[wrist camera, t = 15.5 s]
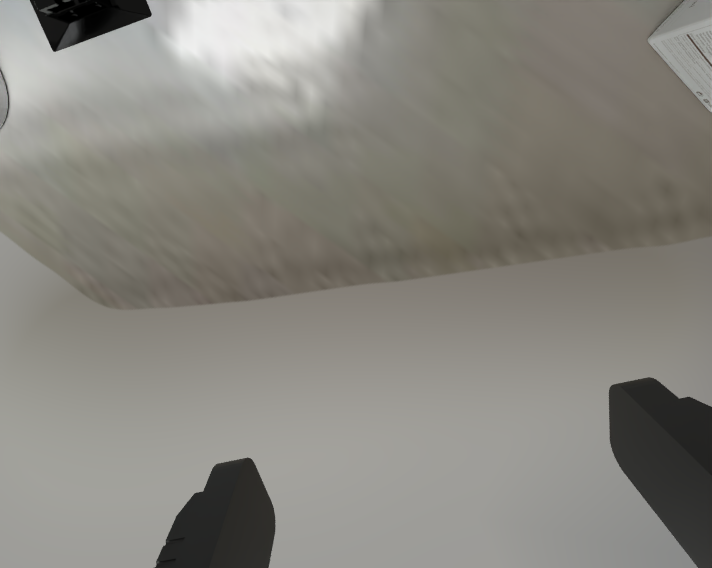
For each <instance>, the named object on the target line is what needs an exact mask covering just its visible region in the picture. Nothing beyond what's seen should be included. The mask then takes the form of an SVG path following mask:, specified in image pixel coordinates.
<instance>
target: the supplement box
mask: <svg viewBox="0 0 712 568" xmlns="http://www.w3.org/2000/svg"><path fill="white" fill-rule="evenodd" d="M648 43H649V44H650V45H651V46H652V47H653V48H654V50H655V51H656V52H657V53H658V54H659V55H660V56H661V57H662V59H663V60H664V61H665V62H666V63H667V64H668V65H669V66H670V68H671V69H672V70H673V71H674V72H675V73H676V74H677V75H678V77H679V78H680V79H681V80H682V81H683V82H684V83H685V84H686V86H687V87H688V88H689V89H690V90H691V91H692V92H693V93H694V94H695V96H696V97H697V98H698V99H699V100H700V101H701V102H702V103H703V105H704V106H705V107H706V108H707V109H708V110H709V111H710V112H711V113H712V0H684V1H683V2H682V3H681V4H680V5H679V6H678V7H677V8H676V9H675V10H674V12H673V13H672V14H671V15H670V16H669V17H668V18H667V19H666V20H665V21H664V22H663V23H662V24H661V25H660V26H659V27H658V28H657V29H656V30H655V31H654V33H653V34H652V35H651V36H650V37H649V38H648Z"/></svg>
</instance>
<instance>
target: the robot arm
mask: <svg viewBox="0 0 712 568" xmlns="http://www.w3.org/2000/svg"><path fill="white" fill-rule="evenodd" d="M7 110H8V95H7V90H6V86H5V82H4V80H3V77H2V75H1V72H0V128H1V127H2V125H3V123H4V121H5V119H6V115H7ZM609 417H610V418H609V419H610V443H611V447H612V451H613V453H614V456H615V458H616V460H617V462H618V464H619V466H620V467H621V469H622V470H623V472H624V473H625V474H626V476H627V477H628V478H629V479H630V481H631V482H632V483H633V485H634V486H635V487H636V489H637V490H638V491H639V492H640V494H641V495H642V496H643V498H644V499H645V500H646V501H647V503H648V504H649V505H650V507H651V508H652V509H653V510H654V512H655V513H656V514H657V515H658V517H659V518H660V519H661V520H662V522H663V523H664V524H665V526H666V527H667V528H668V530H669V531H670V532H671V533H672V535H673V536H674V537H675V538H676V540H677V541H678V542H679V544H680V545H681V546H682V547H683V549H684V550H685V551H686V553H687V554H688V555H689V556H690V558H691V559H692V560H693V562H694V563H695V564H696V565H697V567H698V568H712V407H711V406H708V405H706V404H704V403H702V402H699V401H697V400H695V399H693V398H691V397H686V398H681V399H679V398H678V397H677V396H675V395H674V394H673V393H672V392H671V391H669V390H668V389H667V388H666V387H665V386H663V385H662V384H661V383H660V382H659V381H657V380H656V379H654V378H643V379H638V380H634V381H629V382H624V383H619V384H614V385H612V386H611V387H610V390H609ZM274 535H275V514H274V508H273V505H272V502H271V500H270V497H269V495H268V493H267V491H266V488H265V486H264V484H263V482H262V479H261V477H260V475H259V473H258V470H257V468H256V466H255V464H254V462H253V460H252V459H250V458H244V459H239V460H234V461H229V462H224V463H219V464H216V465H215V466H214V467H213V469H212V471H211V474H210V476H209V479H208V481H207V484H206V486H205V488H204V491H203V492H199V493H195V494H194V495H193V496H192V497H191V499H190V500H189V501H188V502H187V504H186V505H185V506H184V508H183V509H182V510H181V511H180V512H179V514H178V515H177V516H176V519H175V521H174V523H173V525H172V528H171V530H170V532H169V534H168V537H167V539H166V545H165V546H163V548H162V550H161V552H160V555H159V557H158V559H157V561H156V563H157V565H156V567H155V568H268V567H269V562H270V557H271V551H272V546H273V540H274Z"/></svg>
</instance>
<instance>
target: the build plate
mask: <svg viewBox="0 0 712 568" xmlns="http://www.w3.org/2000/svg"><path fill="white" fill-rule="evenodd" d="M30 2H31V4H32V6H33V8H34V10H35V13H36V15H37V17H38V19H39V21H40V24H41V26H42V28H43V30H44V32H45V35H46V37H47V39H48V41H49V43H50V46H51V48H52V50H53V51H54V52H56V51H59V50H61V49H64V48H67V47H70V46H72V45H75V44H78V43H80V42H83V41H86V40H88V39H91V38H94V37H97V36H99V35H102V34H105V33H107V32H110V31H113V30H116V29H118V28H121V27H124V26H126V25H129V24H132V23H134V22H137V21H140V20H143V19H145V18H148V17H151V15H152V14H151V11H150V9H149V6H148V4H147V1H146V0H30Z"/></svg>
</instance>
